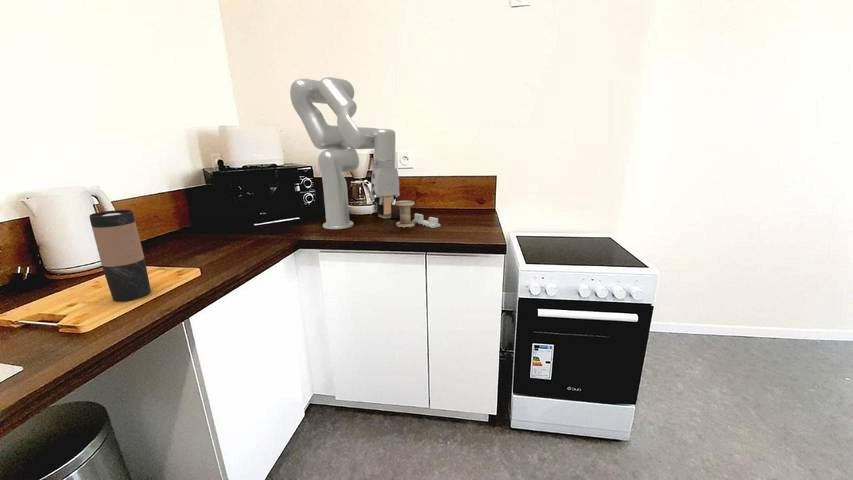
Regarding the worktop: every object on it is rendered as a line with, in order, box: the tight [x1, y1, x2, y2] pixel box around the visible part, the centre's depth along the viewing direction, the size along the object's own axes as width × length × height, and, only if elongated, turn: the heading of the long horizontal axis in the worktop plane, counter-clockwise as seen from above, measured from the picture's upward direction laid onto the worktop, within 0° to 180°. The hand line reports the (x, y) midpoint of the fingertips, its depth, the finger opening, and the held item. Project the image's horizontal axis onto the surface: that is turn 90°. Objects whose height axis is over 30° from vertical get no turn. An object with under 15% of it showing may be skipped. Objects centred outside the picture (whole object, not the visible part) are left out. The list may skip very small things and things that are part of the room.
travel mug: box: [89, 209, 152, 303], centre depth 82 cm, size 8×8×20 cm
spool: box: [394, 200, 416, 229], centre depth 149 cm, size 8×8×10 cm
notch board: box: [412, 213, 441, 229], centre depth 152 cm, size 14×4×4 cm, turn 40°
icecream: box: [390, 203, 400, 220], centre depth 163 cm, size 7×7×15 cm
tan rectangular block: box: [377, 196, 391, 219], centre depth 134 cm, size 4×3×8 cm
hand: (384, 213), depth 135 cm, fingers closed on tan rectangular block, 3 cm apart
